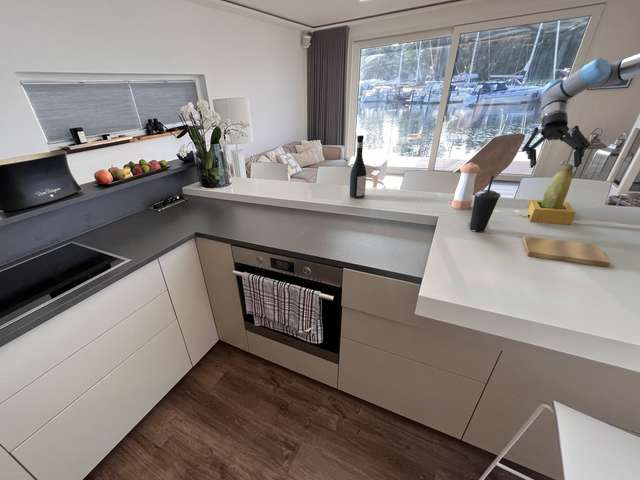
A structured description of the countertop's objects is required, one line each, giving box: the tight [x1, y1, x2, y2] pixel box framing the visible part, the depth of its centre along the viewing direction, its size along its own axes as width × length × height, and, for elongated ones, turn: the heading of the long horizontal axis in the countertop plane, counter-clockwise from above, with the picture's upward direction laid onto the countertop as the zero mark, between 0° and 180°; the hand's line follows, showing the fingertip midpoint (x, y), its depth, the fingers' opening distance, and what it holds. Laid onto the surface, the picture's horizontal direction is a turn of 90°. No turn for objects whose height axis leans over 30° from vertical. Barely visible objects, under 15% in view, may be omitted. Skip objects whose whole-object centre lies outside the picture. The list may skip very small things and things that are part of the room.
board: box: [522, 236, 611, 268], centre depth 89 cm, size 18×12×2 cm, turn 60°
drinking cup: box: [469, 175, 501, 232], centre depth 102 cm, size 8×8×20 cm
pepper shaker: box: [451, 161, 481, 210], centre depth 123 cm, size 7×7×19 cm
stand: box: [526, 199, 576, 226], centre depth 110 cm, size 12×12×5 cm
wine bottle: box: [349, 135, 367, 199], centre depth 145 cm, size 8×8×30 cm
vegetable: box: [541, 163, 574, 209], centre depth 106 cm, size 6×6×20 cm
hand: (555, 165), depth 109 cm, fingers open, 13 cm apart
